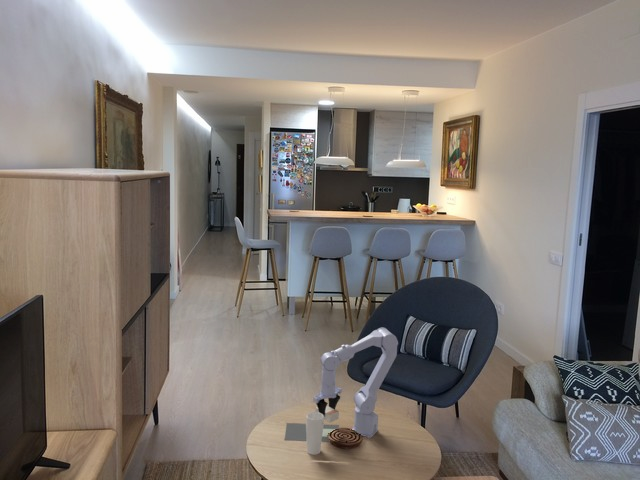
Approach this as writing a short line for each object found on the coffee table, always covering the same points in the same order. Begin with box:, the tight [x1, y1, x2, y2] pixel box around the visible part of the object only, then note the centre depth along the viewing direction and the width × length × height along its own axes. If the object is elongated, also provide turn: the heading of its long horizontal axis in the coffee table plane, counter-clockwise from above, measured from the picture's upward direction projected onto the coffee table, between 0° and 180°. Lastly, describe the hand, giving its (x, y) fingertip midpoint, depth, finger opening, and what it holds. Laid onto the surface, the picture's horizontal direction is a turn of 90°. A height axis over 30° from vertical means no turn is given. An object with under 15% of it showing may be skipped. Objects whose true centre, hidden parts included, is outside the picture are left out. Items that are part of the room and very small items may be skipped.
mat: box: [284, 422, 340, 443], centre depth 218 cm, size 22×14×1 cm, turn 90°
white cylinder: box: [305, 411, 325, 456], centre depth 203 cm, size 7×7×15 cm
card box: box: [314, 405, 340, 424], centre depth 217 cm, size 8×5×3 cm, turn 45°
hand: (326, 414), depth 217 cm, fingers closed on card box, 5 cm apart
